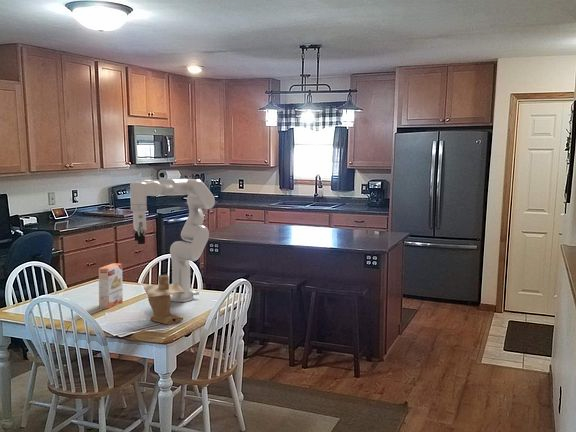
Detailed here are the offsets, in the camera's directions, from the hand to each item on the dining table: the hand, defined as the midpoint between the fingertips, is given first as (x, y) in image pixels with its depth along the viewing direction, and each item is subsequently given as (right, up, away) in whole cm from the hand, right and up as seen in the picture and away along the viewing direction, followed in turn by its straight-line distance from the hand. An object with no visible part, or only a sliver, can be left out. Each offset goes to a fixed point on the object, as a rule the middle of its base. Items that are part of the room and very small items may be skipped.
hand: (139, 242), depth 256 cm
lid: (+15, -22, -12) cm, 29 cm away
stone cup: (+14, -37, -11) cm, 41 cm away
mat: (-5, -36, -5) cm, 37 cm away
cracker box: (-19, -34, +15) cm, 41 cm away
